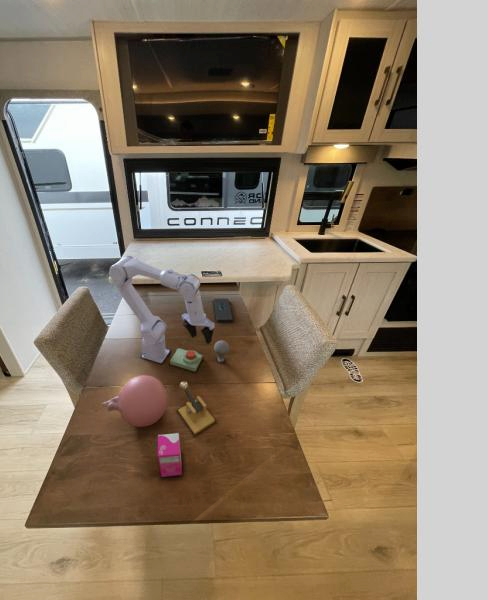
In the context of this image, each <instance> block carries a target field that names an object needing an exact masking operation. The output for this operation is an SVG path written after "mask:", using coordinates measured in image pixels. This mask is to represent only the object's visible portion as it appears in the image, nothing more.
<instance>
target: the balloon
mask: <svg viewBox="0 0 488 600" xmlns="http://www.w3.org/2000/svg"><path fill="white" fill-rule="evenodd" d="M163 384H164V383H162V382H161V381H160V380H159V379H158V378H156V377H154V376H151V375H145V374H142V375H137V376H134V377H132V378H131V379H129V380H128V381H127V382H126V383H125V384H124V385H123V387H122V388H121V390H120V391H119V392H118V393H117V396H114V397H112V398H110V399H109V400H106V401H105V402H104V401H103V402H102V403H101V405H102V407H106V411H109V412H111V411H117V412H118V413H120V415H121V417H122V419H123V420H124V421H125V422H127V423H128V424H129V425H131V426H134V427H137V428H144V427H148V426H151V425H153V424H155V423H156V422H158V421H159V420H160V419H161V418H162V417H163V415H164V414H165V411H166V409H167V405H168V393H167V390H166V387H165V386H164V385H163Z"/></svg>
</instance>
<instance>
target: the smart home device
mask: <svg viewBox="0 0 488 600" xmlns="http://www.w3.org/2000/svg"><path fill="white" fill-rule="evenodd" d="M213 307H214V312H215V320H216V323H233V321H234V320H233V314H232V310H231V306H230V301H229V299H228V298H213Z"/></svg>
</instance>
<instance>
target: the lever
mask: <svg viewBox="0 0 488 600" xmlns="http://www.w3.org/2000/svg"><path fill="white" fill-rule="evenodd" d="M179 389H180V390H181V391H184V393H185V395H186V396H187V398H188V400H189V402H190V403H192V406H193V408H194V409H195V410H196V413H198V412H200V411H201V410H202V408H201V406H200V404H199V402H198V401H197V402H195V400H196V399H195V398H194V396H193V395H192V393H191V391H190V390H189V383H188V382H187V381H185V380H183V381H181V382H180V383H179Z"/></svg>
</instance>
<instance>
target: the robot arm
mask: <svg viewBox="0 0 488 600" xmlns="http://www.w3.org/2000/svg"><path fill="white" fill-rule="evenodd" d="M138 275H139V276H143V277H146V278H149V279H154V280H156V281H159V282H160V285H161V286H164V287H167V288H169V289H172V290H175V291H177V292H179V294H180V296H182V297H183V300H184V303H185V304H184V305H185V308H186V312H187V313H186V312H184V313H183V314H181V319H182V321H183V322H182V326H183V327H184V328H185V329H186V330H187V331H188V333H189V335H190V337H191V338H193V339H194V338H196V337H197V336H198V334H197V327H203V328H202V329H200V332H201V334H203V337H204V340H205V343H206V344H207V345H209V344H210V343H212V340H213V333H214V330H215V328H216V324H215V322H213V321H211V320H210V319H208V318H207V314H206V313H205V312H204V306H203V302H202V297H201V292H200V289H199V288H200V286H201V280H200V279H199V277H198V276H197V275H195V274H193V273H189V274H184V273H181V272H180V273H179V272H177V271H174V269H172V268H169V269H167V268H166V269H164V270H161V269H159V268H156V267H154V266H152V265H149V264H148V263H145V262H142V261H140V259H139V258H138V257H134V256H133V255H125V256H124V257H123V258H122V259H120V260H119V261H117V262H116V263H114V264H112V265H110V268H109V271H108V276H109V277H110V279H111V280H112V282H113V284H114V287H115V288H116V290H117V291H118V292H119V294H120V295H121V297H122V299H123V300H124V301H125V303H126V304H127V305H128V307H129V308H130V310H131V311H132V312H133V314H134V315H135V316H136V318H137V320H138V321H139V322H140V324H141V325H140V333H141V335H142V337H143V338H142V340H141V345H140V346H141V353H142V355H141V358H143V359H146V360H150V361H152V362H155V363H159V364H162V363H163V362H164V360H165V359H166V358H167V356H168V355H169V353H170V351H171V350H170V349H167V347H166V337H165V336H166V335H165V334H166V333H165V332H166V331H167V329H168V326H167V323H166V322H165V321H164V320H162V319H161V318H160V316H158V315H153V313H152V312H151V311H150V309H149V307H148V306H147V304H146V303H145V301H144V300H143V299H142V297H141V296H140V294H139V293H138V291H137V290H136V288H135V287H134V285H133V284H132V280H133V278H134V277H136V276H138Z"/></svg>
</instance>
